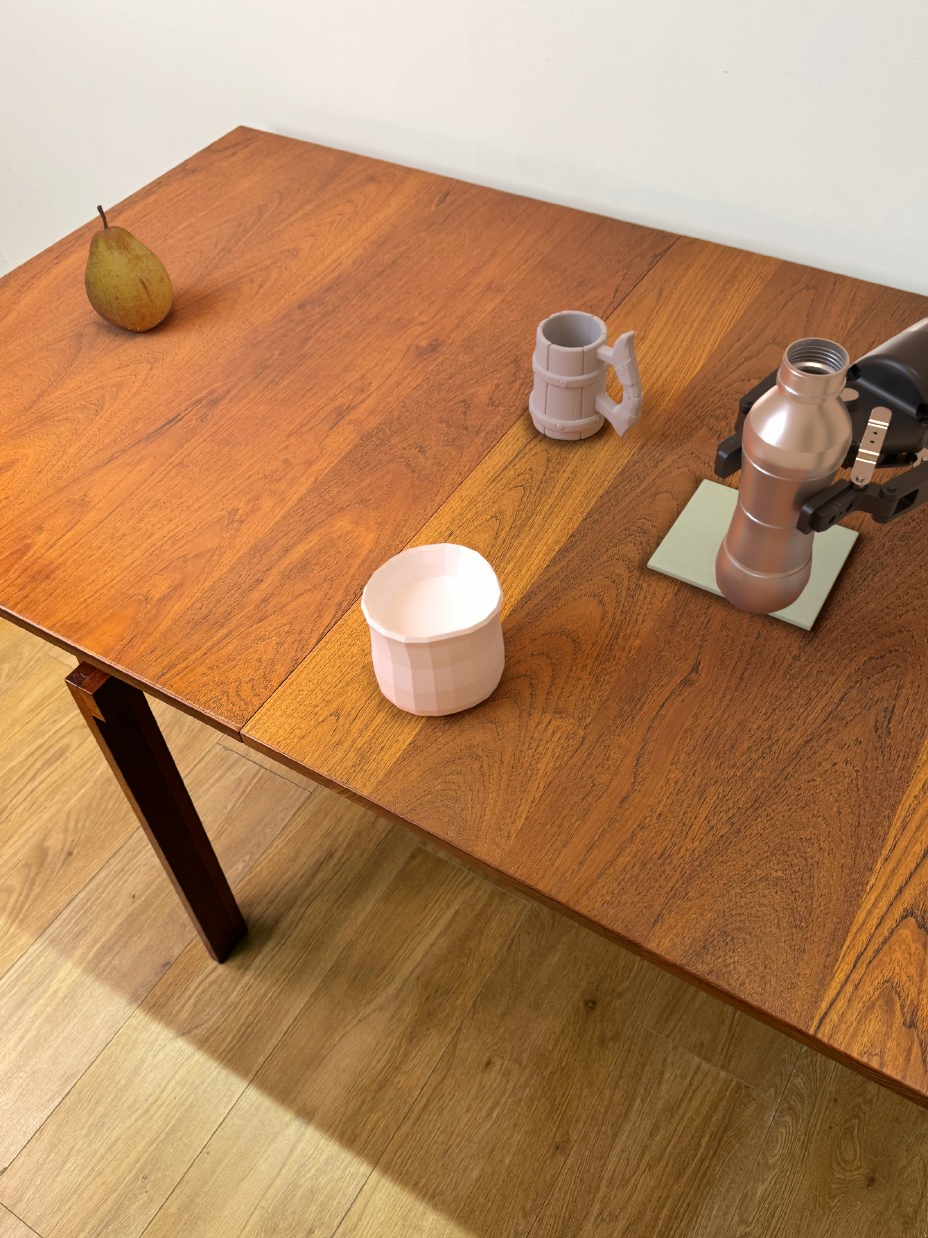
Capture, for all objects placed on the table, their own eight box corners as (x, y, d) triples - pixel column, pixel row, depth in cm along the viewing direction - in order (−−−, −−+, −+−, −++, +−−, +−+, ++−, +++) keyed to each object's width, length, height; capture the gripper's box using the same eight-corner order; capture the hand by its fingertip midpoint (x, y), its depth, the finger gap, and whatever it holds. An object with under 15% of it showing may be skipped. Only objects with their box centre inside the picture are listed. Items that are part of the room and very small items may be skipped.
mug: (560, 383, 100) (564, 275, 91) (659, 430, 95) (674, 320, 86) (512, 421, 97) (511, 313, 88) (612, 472, 91) (622, 362, 82)
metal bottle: (815, 575, 72) (892, 339, 56) (783, 640, 68) (856, 406, 53) (730, 545, 74) (781, 310, 59) (695, 606, 71) (740, 373, 55)
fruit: (165, 343, 108) (132, 239, 99) (86, 338, 109) (47, 235, 100) (191, 298, 113) (162, 196, 104) (116, 294, 115) (81, 193, 105)
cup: (529, 665, 78) (530, 581, 70) (442, 748, 73) (433, 667, 65) (439, 606, 82) (431, 520, 74) (352, 681, 77) (334, 598, 70)
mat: (857, 536, 85) (859, 532, 84) (809, 631, 78) (811, 627, 78) (703, 482, 90) (704, 478, 90) (646, 567, 84) (647, 563, 83)
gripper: (1001, 475, 67) (839, 599, 61) (828, 378, 75) (669, 479, 69) (1045, 384, 61) (871, 510, 55) (853, 289, 69) (681, 390, 63)
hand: (760, 492), depth 62 cm, fingers closed on metal bottle, 6 cm apart
